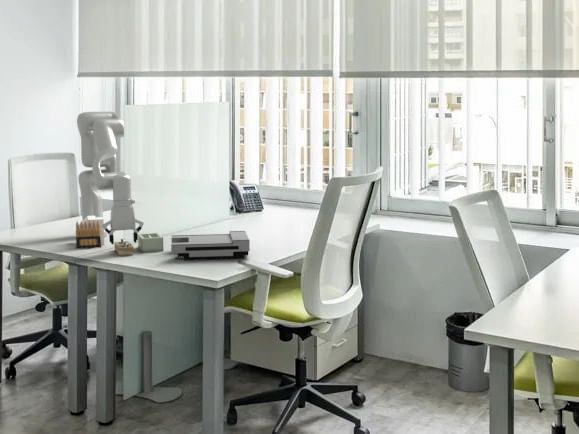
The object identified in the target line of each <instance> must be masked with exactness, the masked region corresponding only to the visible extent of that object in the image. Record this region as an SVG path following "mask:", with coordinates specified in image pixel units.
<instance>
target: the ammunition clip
mask: <svg viewBox="0 0 579 434" xmlns="http://www.w3.org/2000/svg"><path fill="white" fill-rule="evenodd" d="M79 224H80V231H79ZM96 234H97V236H96ZM92 239H93V244H92ZM96 239H97V241H96ZM88 243H89V244H88ZM75 245H76V246H75V249H77V248H78V249H93V248H94V247H98V248H102V246H101V238H100V227H99V221H97V229H96V228H95V222H94V221H93V227H92V229H91V223H90V221H89V224H88V230H87V223H86V221H85V223H84V230H83V224H82V220H81V221H80V222H79V221H76V224H75ZM94 249H95V248H94Z"/></svg>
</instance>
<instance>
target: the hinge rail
mask: <svg viewBox="0 0 579 434" xmlns="http://www.w3.org/2000/svg"><path fill="white" fill-rule="evenodd" d="M124 241H125V239H124V238H120V242H121V244H124V247H127V242H124ZM133 255H134V254H127V255H119V256H120V257H127V256H128V257H129V256H133Z"/></svg>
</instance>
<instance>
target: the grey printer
mask: <svg viewBox="0 0 579 434" xmlns="http://www.w3.org/2000/svg"><path fill="white" fill-rule="evenodd" d="M250 245H251V244H250V238H249V237H248V235H247V232H246V231H245V230H233V231H232V230H229V233H224V234H222V233H220V234H215V233H214V234H182V235H181V234H177V235H176V234H175V235H173V234H172V235H171V244H170V247H171V248H170V249H171V251H170V253H171V254H177V258H183V261H184V262H185V261H189V262H190V261H211V260H212V261H217V260H244V259H245V256H249V252H250Z"/></svg>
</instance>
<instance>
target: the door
mask: <svg viewBox="0 0 579 434" xmlns="http://www.w3.org/2000/svg"><path fill="white" fill-rule="evenodd" d="M124 242H127V247H124V244H121V241H114V250H115V251H116V253H117V254H118V255H119V256H120V255H127V254H133V255H134V253H135V251H134V246H133V244H132V243H131V242H130V241H128V240H127V241H126V240H124Z"/></svg>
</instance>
